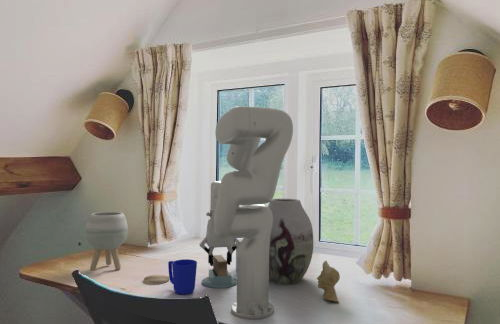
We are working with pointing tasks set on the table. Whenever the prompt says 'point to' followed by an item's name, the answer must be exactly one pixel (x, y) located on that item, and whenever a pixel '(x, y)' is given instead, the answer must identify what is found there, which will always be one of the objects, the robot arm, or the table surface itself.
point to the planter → (106, 236)
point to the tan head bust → (328, 282)
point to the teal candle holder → (219, 280)
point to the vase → (289, 241)
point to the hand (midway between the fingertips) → (220, 264)
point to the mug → (183, 275)
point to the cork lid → (156, 279)
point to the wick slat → (220, 265)
